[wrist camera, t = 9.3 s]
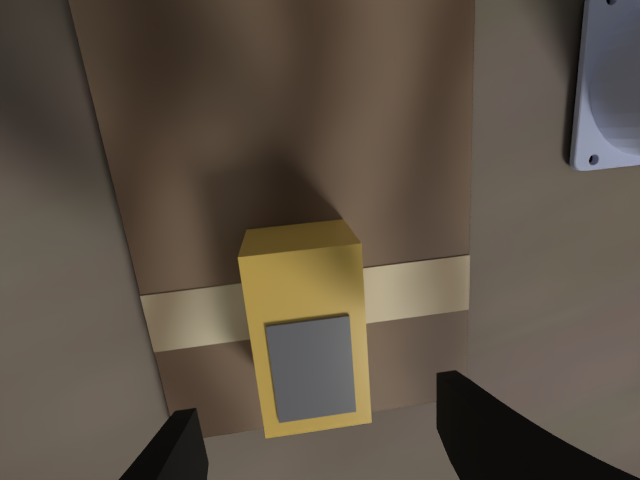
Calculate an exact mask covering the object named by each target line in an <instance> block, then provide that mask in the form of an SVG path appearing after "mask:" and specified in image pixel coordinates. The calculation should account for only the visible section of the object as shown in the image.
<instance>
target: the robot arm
mask: <svg viewBox="0 0 640 480" xmlns="http://www.w3.org/2000/svg"><path fill="white" fill-rule="evenodd" d="M591 156H592V158H593V159H592V162H591V163H589V158H590V157H591ZM633 165H640V0H610V3H609V5H608V4H607V2H606V0H585V3H584V14H583V24H582V35H581V46H580V56H579V67H578V78H577V88H576V99H575V110H574V120H573V131H572V141H571V152H570V166H571V168H572V169H574V170H578V171H587V170H596V169H605V168H614V167H624V166H633ZM436 403H437V430H438V433H439V435H440V438H441V440H442V443H443V445H444V448H445V450H446V452H447V455H448V457H449V460H450V462H451V464H452V466H453V467H454V469H455V471H456V473H457V475H458V477H459V479H460V480H640V478H638V477H635V476H633V475H631V474H629V473H626V472H624V471H622V470H620V469H618V468H615V467H613V466H611V465H609V464H607V463H605V462H603V461H601V460H599V459H597V458H595V457H593V456H591V455H589V454H587V453H586V452H584V451H582V450H580V449H578V448H576V447H574V446H572V445H570V444H568V443H567V442H565V441H563V440H561V439H560V438H558V437H556V436H554V435H553V434H551V433H549V432H548V431H546V430H544V429H543V428H541V427H539V426H538V425H536V424H534V423H533V422H531V421H530V420H528V419H527V418H525V417H523V416H522V415H520V414H519V413H517V412H516V411H514V410H513V409H511V408H510V407H508V406H507V405H505V404H504V403H502V402H501V401H499V400H498V399H497V398H495V397H494V396H492V395H491V394H489V393H488V392H487V391H485V390H484V389H482V388H481V387H479V386H478V385H477V384H475V383H474V382H472V381H471V380H470V379H468V378H467V377H465V376H464V375H462V374H461V373H460V372H458V371H457V370H452V371H445V372H439V373H436ZM208 464H209V463H208V458H207V454H206V449H205V445H204V440H203V436H202V431H201V427H200V422H199V418H198V413H197V408H191V409H184V410H177V411H174V413H173V414H172V415H171V416H170V418H169V419H168V420H167V421H166V422H165V424H164V425H163V426H162V427H161V429H160V430H159V431H158V432H157V434H156V435H155V436H154V437H153V439H152V440H151V441H150V442H149V444H148V445H147V446H146V447H145V449H144V450H143V451H142V452H141V454H140V455H139V456H138V457H137V458H136V460H135V461H134V462H133V463H132V464H131V466H130V467H129V468H128V469H127V471H126V472H125V473H124V474H123V475H122V476H121V478H120V479H119V480H207V473H208Z"/></svg>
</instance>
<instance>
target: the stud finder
mask: <svg viewBox="0 0 640 480" xmlns="http://www.w3.org/2000/svg"><path fill="white" fill-rule="evenodd" d="M238 263H239V269H240V276H241V282H242V289H243V295H244V302H245V308H246V315H247V321H248V327H249V334H250V340H251V347H252V353H253V360H254V366H255V373H256V379H257V386H258V392H259V399H260V405H261V412H262V418H263V425H264V431H265V438H273V437H280V436H286V435H293V434H299V433H306V432H313V431H319V430H326V429H332V428H339V427H346V426H352V425H359V424H365V423H372V420H371V402H370V384H369V366H368V349H367V331H366V313H365V295H364V278H363V260H362V243H361V242H360V241H359V239H358V238H357V237H356V235H355V234H354V233H353V231H352V230H351V228H350V227H349V226H348V224H347V223H346V222H345V220H344V219H340V220H331V221H321V222H312V223H303V224H294V225H284V226H275V227H266V228H257V229H247V230H246V232H245V236H244V239H243V242H242V245H241V248H240V252H239V255H238Z"/></svg>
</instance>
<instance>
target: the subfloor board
mask: <svg viewBox="0 0 640 480" xmlns="http://www.w3.org/2000/svg"><path fill="white" fill-rule="evenodd" d="M68 1H69V6H70V10H71V14H72V18H73V22H74V26H75V30H76V34H77V38H78V42H79V46H80V51H81V55H82V59H83V63H84V67H85V71H86V75H87V79H88V83H89V87H90V91H91V95H92V100H93V104H94V108H95V112H96V116H97V120H98V124H99V128H100V132H101V136H102V140H103V144H104V149H105V153H106V157H107V161H108V165H109V169H110V173H111V177H112V181H113V185H114V189H115V193H116V198H117V202H118V206H119V210H120V214H121V218H122V222H123V226H124V230H125V234H126V238H127V242H128V247H129V251H130V255H131V259H132V263H133V267H134V271H135V275H136V279H137V283H138V287H139V291H140V298H141V302H142V306H143V310H144V315H145V319H146V323H147V327H148V331H149V335H150V339H151V343H152V347H153V351H154V353H155V357H156V361H157V365H158V369H159V373H160V377H161V381H162V385H163V389H164V394H165V398H166V402H167V406H168V410H169V414H170V416H171V415H172V414H173V413H174V411H177V410H184V409H191V408H197V413H198V418H199V422H200V427H201V431H202V436H203V438H206V437H212V436H219V435H225V434H232V433H238V432H245V431H251V430H258V429H264V425H263V418H262V412H261V405H260V399H259V392H258V386H257V379H256V373H255V366H254V360H253V353H252V347H251V340H250V334H249V327H248V321H247V315H246V308H245V302H244V295H243V289H242V282H241V276H240V269H239V263H238V255H239V252H240V248H241V245H242V242H243V239H244V236H245V232H246V230H247V229H257V228H266V227H275V226H284V225H294V224H303V223H312V222H321V221H331V220H340V219H344V220H345V222H346V223H347V224H348V226H349V227H350V228H351V230H352V231H353V233H354V234H355V235H356V237H357V238H358V239H359V241H360V242H361V243H362V260H363V278H364V295H365V313H366V331H367V349H368V366H369V384H370V402H371V412H374V411H381V410H387V409H394V408H400V407H407V406H413V405H420V404H426V403H433V402H436V373H439V372H445V371H452V370H457V371H458V372H460V373H461V374H462V375H464V376H465V377H467V341H468V310H469V281H470V255H469V250H470V205H471V160H472V114H473V69H474V24H475V0H68Z"/></svg>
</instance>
